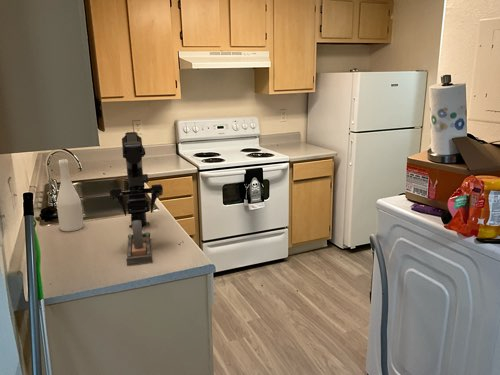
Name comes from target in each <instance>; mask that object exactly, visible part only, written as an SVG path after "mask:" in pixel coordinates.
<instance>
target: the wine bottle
mask: <svg viewBox="0 0 500 375" xmlns="http://www.w3.org/2000/svg"><path fill="white" fill-rule="evenodd" d="M58 166H59V172H60V184H59V185H60V186H59V189H58V194H57V198H56V209H57V217H58V218H57V219H58V224H59V229H60V230H61V231H62V232H74V231H79V230H81V229H82V228H84V225H85V224H84V216H83V209H82V200H81V198H80V196H79V194H78V191H77V190H76V188H75V187H74V185H73V182H72V180H71V176H70V170H69V169H70V168H69V161H68V159H65V158H64V159H63V158H62V159H59V160H58Z"/></svg>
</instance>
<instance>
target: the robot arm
mask: <svg viewBox="0 0 500 375" xmlns="http://www.w3.org/2000/svg"><path fill="white" fill-rule="evenodd" d="M121 146H122V147H121V148H122V159H125V165H126V176H127V188H128V189H126V190H125V189H124V190H122V187H112V188H110V190H109V197H110V200H113V201H114V202H115V203H116V202H117V203H118V204H119V206H120V207H121V210H122V212H123V214H124V216H127V214H128V215H130V222H131V223H130V225H128V227H129V228H132V221H135V220H141V224H142V229H143V228H144V227H146V226H148V225H150V222H147V214H146V213H149V212H150V214H153V211H154V206H155V203H156V200H157V199H159V198H160V196H163V193H164V189H163V188H164V187H163V185H162V184H159V183H157V184H151V187H148V188H145V184H147V183H149V174H148V173H144V172H143V158H144V157H145V156H146V149H145V148H144V146H143V140H142V137H141V136H140V135H138V132H136V131H127V132H125V134H124V136H123V137H122V138H121ZM146 194H151V197H150V198H151V199H150V201H149V200H148V198H146ZM123 196H128V200H127V201H126V202H127V204H125V202H124V197H123ZM126 205H127V209H126V207H125V206H126ZM127 211H128V212H127Z"/></svg>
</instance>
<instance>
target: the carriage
mask: <svg viewBox="0 0 500 375" xmlns="http://www.w3.org/2000/svg"><path fill="white" fill-rule="evenodd" d="M131 224H132V227H131V228H132V234H133V240H134V244H132V257H136V256H144V255H146V243H143V236H142V233H143V228H142V224H141V220H135V221H132V223H131Z"/></svg>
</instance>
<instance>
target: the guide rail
mask: <svg viewBox="0 0 500 375" xmlns="http://www.w3.org/2000/svg"><path fill="white" fill-rule="evenodd" d="M142 236H143V243H146V255H144V256H136V257H132V244H134V240H133V233H131V234H130V233H129V234H128V235H127V254H126V258H125V259H126V266H136V265H142V264H150V263H153V258H152V257H153V256H152V244H151V243H152V242H151V232H142Z"/></svg>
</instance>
